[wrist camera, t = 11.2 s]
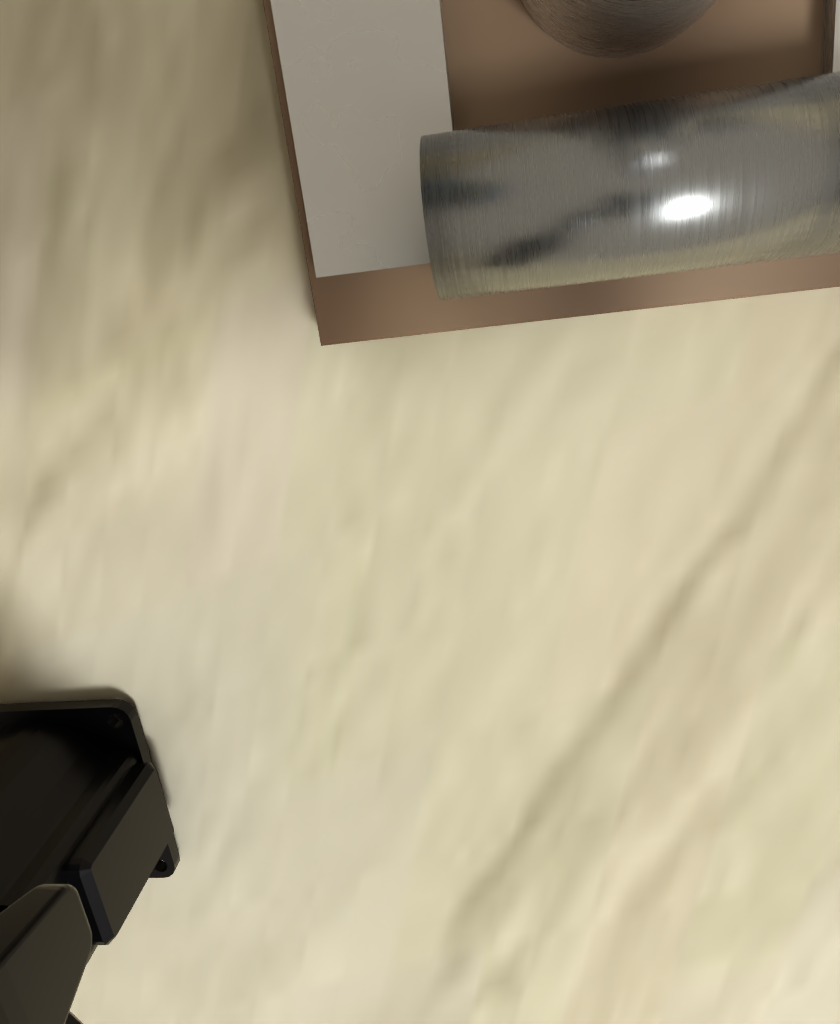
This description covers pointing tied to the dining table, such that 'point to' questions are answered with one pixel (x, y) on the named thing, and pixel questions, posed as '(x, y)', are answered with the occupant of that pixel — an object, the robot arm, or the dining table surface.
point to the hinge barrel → (615, 23)
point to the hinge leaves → (544, 164)
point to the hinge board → (559, 90)
